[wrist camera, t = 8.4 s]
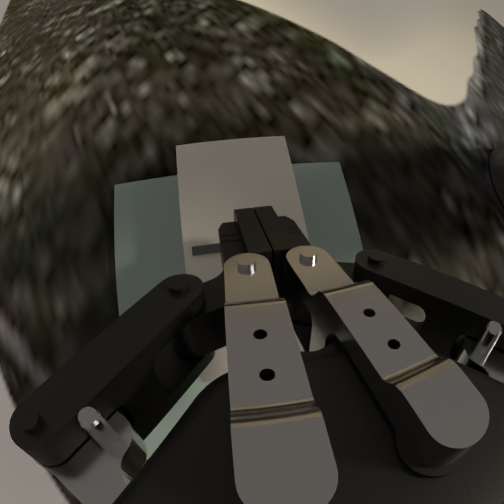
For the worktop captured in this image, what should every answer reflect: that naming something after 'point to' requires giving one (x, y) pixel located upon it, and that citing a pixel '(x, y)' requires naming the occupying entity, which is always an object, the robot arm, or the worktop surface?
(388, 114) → the worktop surface
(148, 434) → the robot arm
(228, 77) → the worktop surface
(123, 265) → the mat
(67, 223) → the worktop surface
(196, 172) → the domino
